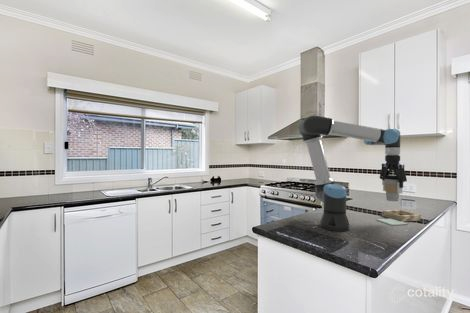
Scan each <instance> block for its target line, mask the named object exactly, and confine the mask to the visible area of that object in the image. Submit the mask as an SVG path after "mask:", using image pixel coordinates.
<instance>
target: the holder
mask: <svg viewBox="0 0 470 313" xmlns="http://www.w3.org/2000/svg"><path fill="white" fill-rule="evenodd" d="M382 216H383V217H385V218H387V219H395V220H398V221H401V222H405V223H407V222H420V221H422V220H421V219H422V218H421V217H422V216H421V214H418V213H415V212H410V211H407V210H402V209H391V210H387V209H386V210H383V211H382Z"/></svg>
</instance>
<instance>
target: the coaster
mask: <svg viewBox="0 0 470 313" xmlns="http://www.w3.org/2000/svg"><path fill="white" fill-rule="evenodd" d="M376 221H377V222H380V223H383V224H387V225H389V226H392V227H393V226H394V227H395V226H405V225H407V226H408V224H409V223H407V222H401V221H398V220H395V219H391V218H378V219H376Z"/></svg>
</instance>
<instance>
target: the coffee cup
mask: <svg viewBox="0 0 470 313" xmlns="http://www.w3.org/2000/svg"><path fill="white" fill-rule="evenodd" d="M383 179H384V180H385V191H384V192H385V197H386V200H387V201H388V202H399V197H400V194H398V193H397V182H398V179H397V177H396V174H389V175H385V177H383Z"/></svg>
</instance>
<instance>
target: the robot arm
mask: <svg viewBox="0 0 470 313" xmlns="http://www.w3.org/2000/svg"><path fill="white" fill-rule="evenodd" d="M298 131H299V133H300V135H301V136H302V140H303V142H304V143H305V144H306V147H307V150H308V155H309V158H310V162H311V165H312V169H313V173H314V177H315V183H314V187H315V192H314V193H315V196H316V197H317V199H318V200H319V201H320V202H322V203H323V212H322V213H323V214H322V215H321V219H320V221H319V222H320V223H319V226H320V227H321V228H322V229H325V230H328V231H331V232H332V231H333V232H347V231H350V222H349V219H348V216H347V188H346V187H345V186H344V185H341V184H338V183H337V184H336V182H335V179H333V178H332V177H331V174H330V170H329V166H328V162H327V159H326V155H325V151H324V148H323V143H322V139H323V136H330V135H334V136H339V137H344V138H345V137H346V138H350V139H357V140H360V141H361V140H363V142H364V144H365V145H366V146H385V149H384V150H385V151H384V154H385V155H384V160H385V163H381V169H380V174H379V179H380V180H381V181H382V182H381V183H382V190H383V192H385V180H384V179H383V177H385V175H391V172H392V171H393V172H394V175H396V177H397V179H398V182H397V193H398V194H399V195H400V194H401V195H402V194H403V188H404V182H405V183H406V182H407V174H406V171H405V164H404V163H403V164H402V163H400V162H401V130H400V129H399V128H387V129H382V128H379V127H378V128H377V127H372V126H366V125H359V124H356V123H349V122H343V121H342V122H341V121H337V120H334V119H333V118H330V117H326V116H320V115H315V114H314V115H309V116H307V117H306V118H304V119H303V120H302V121H301V122H300V124H299V126H298Z"/></svg>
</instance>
